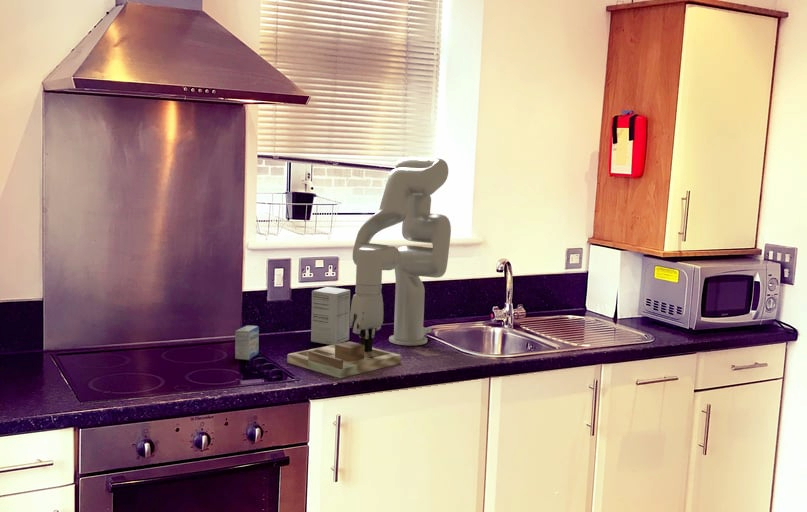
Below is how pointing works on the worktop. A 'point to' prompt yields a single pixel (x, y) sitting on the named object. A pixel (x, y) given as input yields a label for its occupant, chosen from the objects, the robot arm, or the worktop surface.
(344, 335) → the supplement box
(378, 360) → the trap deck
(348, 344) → the walnut block
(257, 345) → the medicine box
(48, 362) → the worktop surface
